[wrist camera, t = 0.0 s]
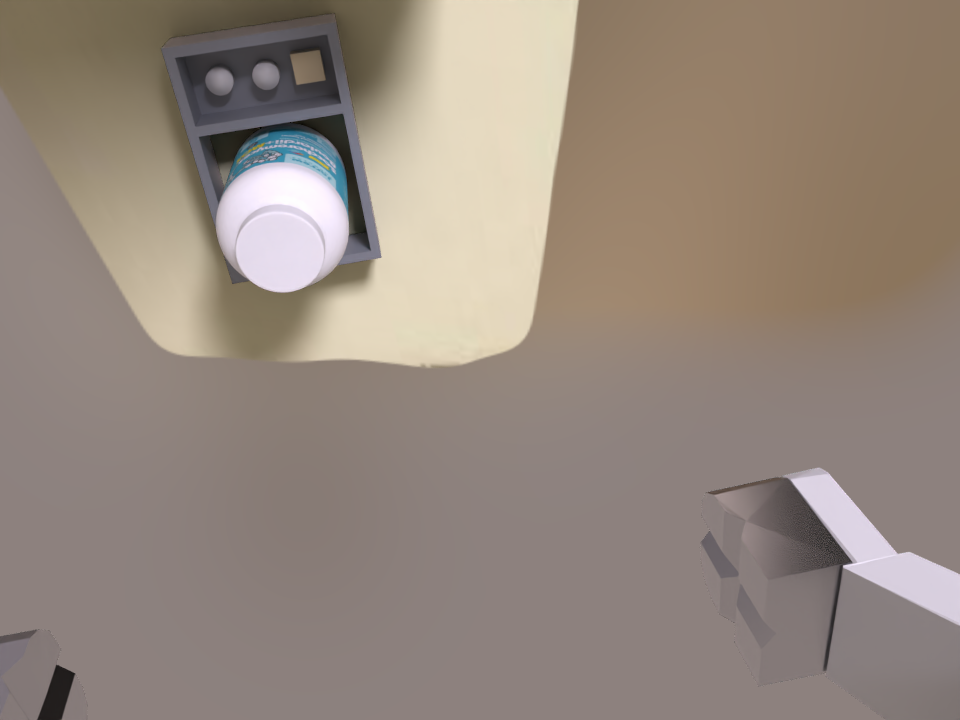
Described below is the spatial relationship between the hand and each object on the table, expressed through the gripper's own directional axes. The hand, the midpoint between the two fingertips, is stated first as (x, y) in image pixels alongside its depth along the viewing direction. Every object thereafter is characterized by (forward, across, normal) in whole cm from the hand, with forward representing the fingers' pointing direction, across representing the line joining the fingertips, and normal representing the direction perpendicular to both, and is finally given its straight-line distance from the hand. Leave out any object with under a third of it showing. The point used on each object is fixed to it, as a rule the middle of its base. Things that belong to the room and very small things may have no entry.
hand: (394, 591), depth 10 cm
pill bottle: (+48, +5, +9) cm, 49 cm away
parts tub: (+48, +5, +7) cm, 49 cm away
